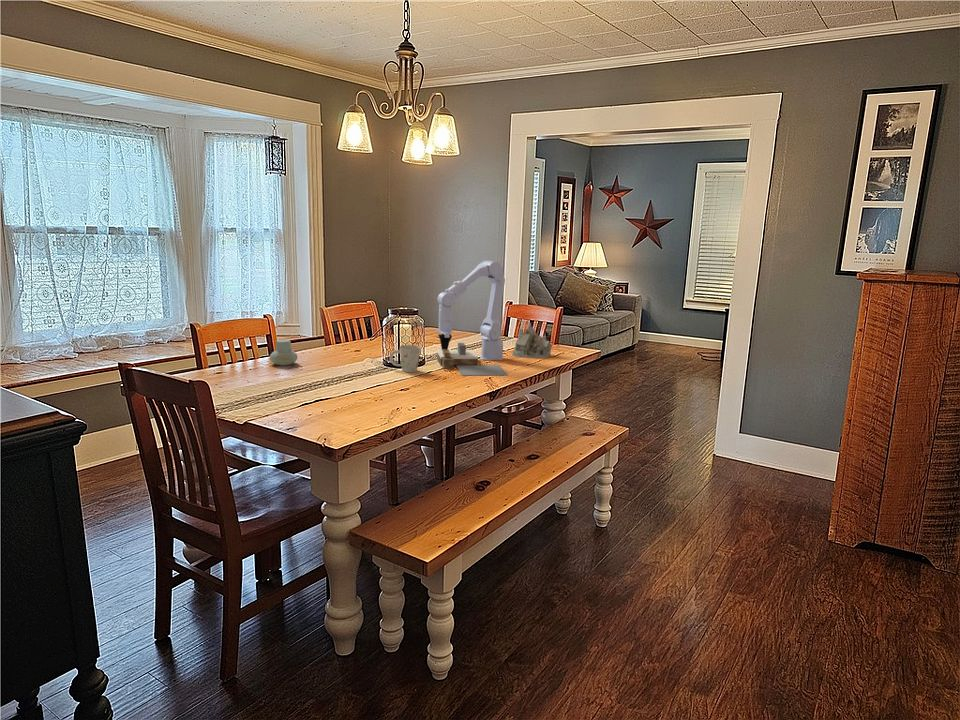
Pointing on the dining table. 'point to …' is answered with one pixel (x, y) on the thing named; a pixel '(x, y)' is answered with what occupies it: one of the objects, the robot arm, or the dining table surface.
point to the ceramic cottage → (531, 344)
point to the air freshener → (283, 353)
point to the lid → (460, 353)
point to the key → (446, 353)
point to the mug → (407, 357)
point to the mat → (480, 370)
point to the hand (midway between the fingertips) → (444, 350)
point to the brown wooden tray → (455, 362)
